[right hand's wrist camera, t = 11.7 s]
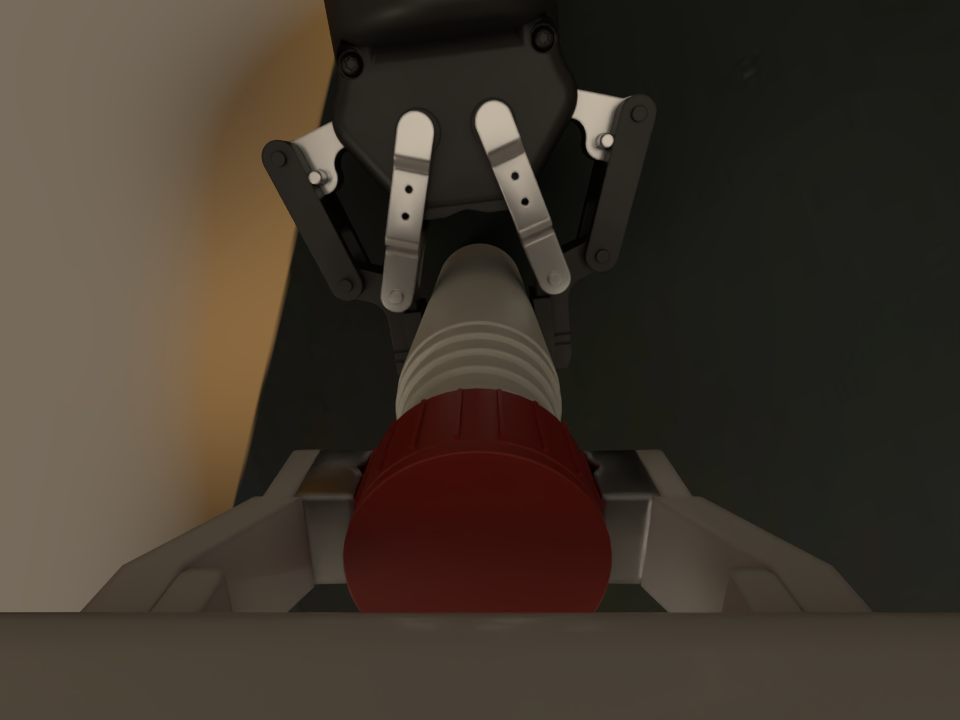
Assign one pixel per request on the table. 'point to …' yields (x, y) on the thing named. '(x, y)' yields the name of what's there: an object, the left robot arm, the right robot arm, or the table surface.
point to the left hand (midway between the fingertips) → (487, 381)
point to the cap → (477, 513)
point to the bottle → (479, 335)
